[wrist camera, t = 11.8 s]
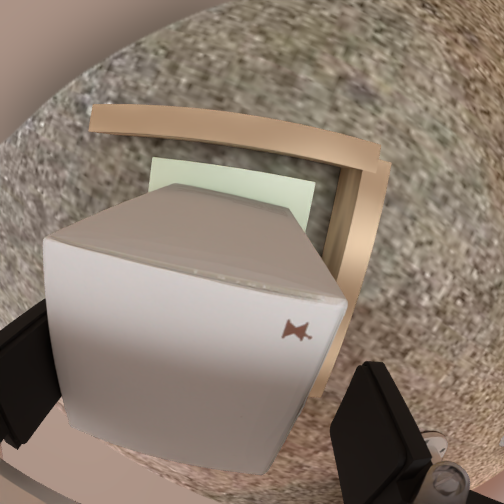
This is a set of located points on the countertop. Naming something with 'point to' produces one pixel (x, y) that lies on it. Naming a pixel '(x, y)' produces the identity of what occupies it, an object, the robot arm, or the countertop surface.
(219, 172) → the pad
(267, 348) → the supplement box
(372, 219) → the wooden corner guide
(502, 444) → the french press
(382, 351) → the countertop surface
